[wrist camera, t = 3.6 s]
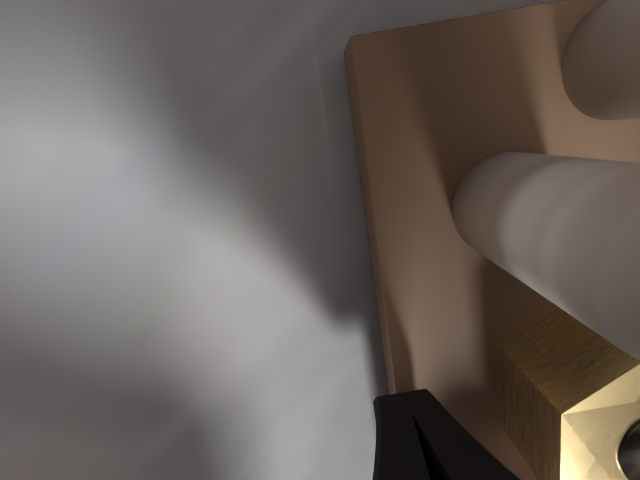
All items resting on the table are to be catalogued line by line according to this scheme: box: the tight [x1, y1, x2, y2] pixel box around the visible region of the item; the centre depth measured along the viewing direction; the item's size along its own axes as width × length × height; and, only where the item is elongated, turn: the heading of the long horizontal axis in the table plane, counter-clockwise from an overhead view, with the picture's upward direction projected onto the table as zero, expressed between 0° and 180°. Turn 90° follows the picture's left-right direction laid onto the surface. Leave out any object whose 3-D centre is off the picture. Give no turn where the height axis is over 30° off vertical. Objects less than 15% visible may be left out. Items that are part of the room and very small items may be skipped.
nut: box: [501, 308, 640, 480], centre depth 9 cm, size 4×5×2 cm
